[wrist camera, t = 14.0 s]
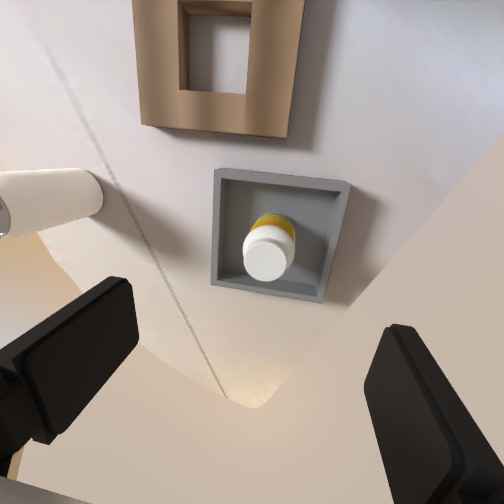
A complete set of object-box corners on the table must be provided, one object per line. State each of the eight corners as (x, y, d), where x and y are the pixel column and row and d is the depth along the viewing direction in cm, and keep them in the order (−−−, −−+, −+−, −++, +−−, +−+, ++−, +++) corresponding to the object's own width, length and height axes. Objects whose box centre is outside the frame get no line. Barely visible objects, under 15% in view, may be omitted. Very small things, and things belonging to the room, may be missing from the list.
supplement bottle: (297, 249, 31) (298, 286, 22) (257, 254, 32) (242, 291, 23) (292, 208, 29) (290, 231, 20) (249, 214, 30) (230, 239, 22)
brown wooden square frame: (309, -33, 22) (311, -55, 19) (286, 139, 27) (286, 137, 25) (144, -34, 24) (127, -55, 21) (153, 126, 29) (141, 124, 27)
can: (54, 181, 34) (-62, 194, 23) (84, 158, 32) (-26, 160, 21) (83, 222, 36) (-11, 252, 25) (114, 202, 34) (26, 226, 23)
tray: (344, 181, 28) (351, 184, 24) (319, 288, 33) (322, 303, 30) (223, 167, 29) (214, 169, 26) (218, 272, 35) (210, 284, 32)
